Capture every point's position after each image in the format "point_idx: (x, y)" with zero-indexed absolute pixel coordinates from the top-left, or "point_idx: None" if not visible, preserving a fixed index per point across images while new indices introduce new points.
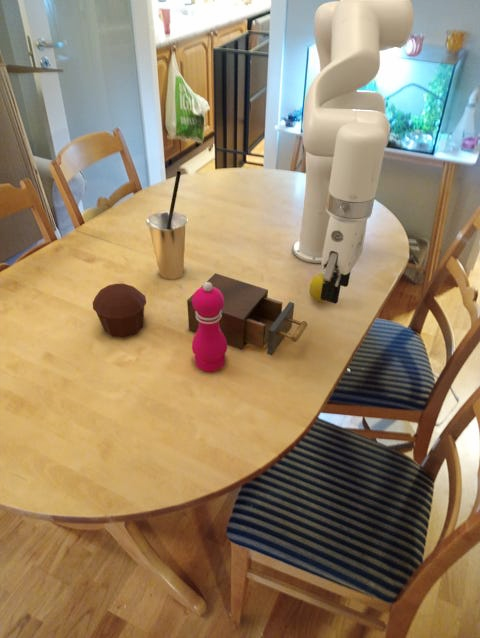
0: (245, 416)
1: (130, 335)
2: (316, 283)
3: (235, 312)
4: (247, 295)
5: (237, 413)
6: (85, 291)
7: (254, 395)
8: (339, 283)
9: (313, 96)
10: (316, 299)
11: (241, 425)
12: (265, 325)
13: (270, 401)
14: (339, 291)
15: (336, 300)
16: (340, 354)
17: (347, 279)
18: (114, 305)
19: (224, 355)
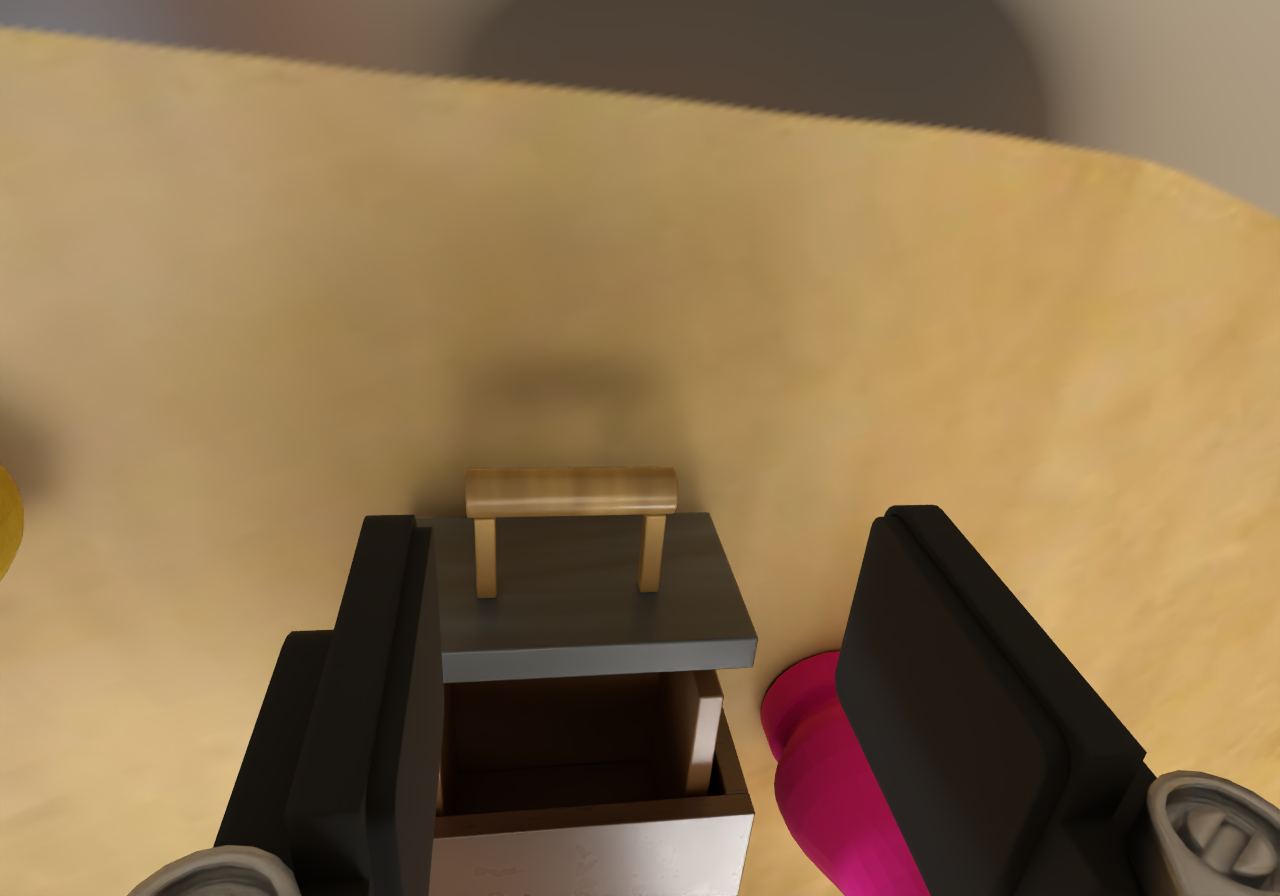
0: (1111, 443)
1: None
2: None
3: (709, 864)
4: (511, 892)
5: (1099, 479)
6: None
7: (979, 463)
8: (437, 635)
9: None
10: (21, 503)
11: (1164, 436)
12: (701, 691)
13: (1001, 384)
14: (1008, 637)
15: (954, 539)
16: (461, 137)
17: (414, 622)
18: None
19: (818, 687)
